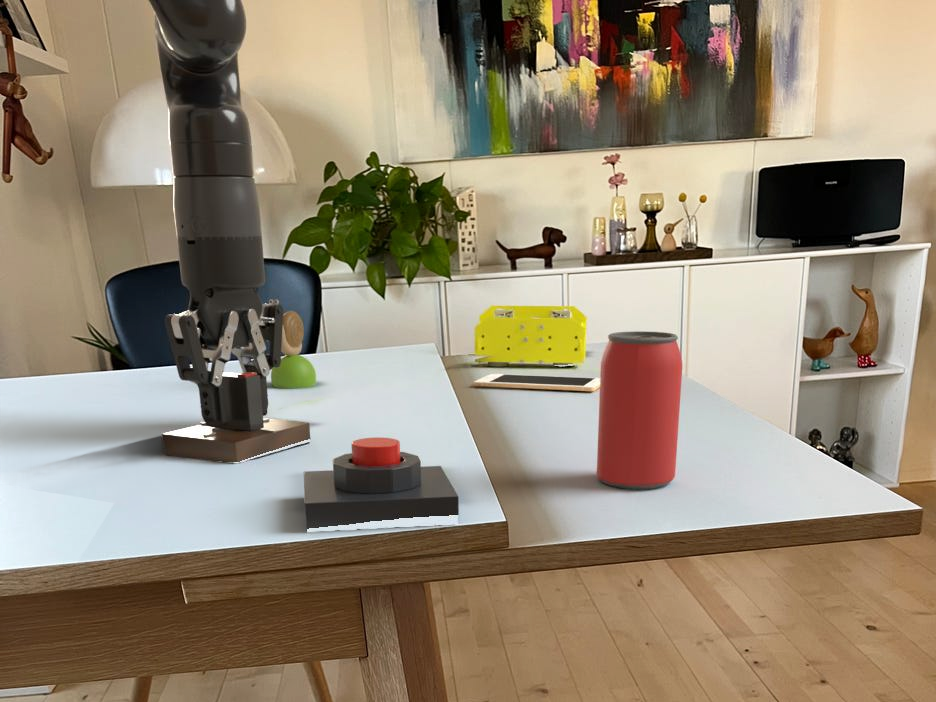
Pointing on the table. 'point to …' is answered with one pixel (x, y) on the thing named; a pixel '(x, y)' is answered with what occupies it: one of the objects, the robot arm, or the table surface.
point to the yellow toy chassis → (531, 335)
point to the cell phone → (539, 382)
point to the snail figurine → (292, 356)
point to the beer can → (639, 410)
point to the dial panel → (233, 440)
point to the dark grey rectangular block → (243, 401)
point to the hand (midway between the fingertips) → (236, 419)
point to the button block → (376, 492)
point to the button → (376, 451)
